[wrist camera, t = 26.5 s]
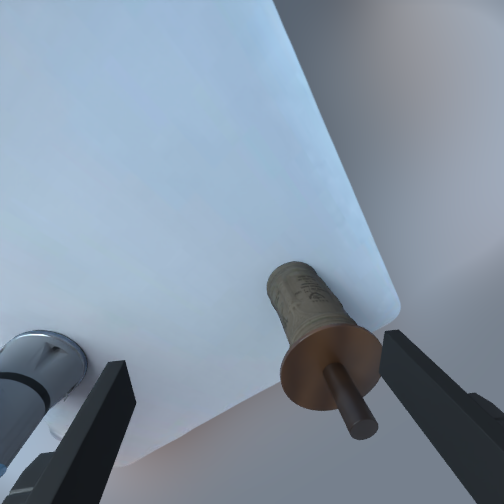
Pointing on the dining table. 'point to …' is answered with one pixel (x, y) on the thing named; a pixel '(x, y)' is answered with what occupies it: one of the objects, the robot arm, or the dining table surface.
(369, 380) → the lid
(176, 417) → the dining table surface
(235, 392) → the dining table surface
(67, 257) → the dining table surface
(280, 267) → the beer stein
